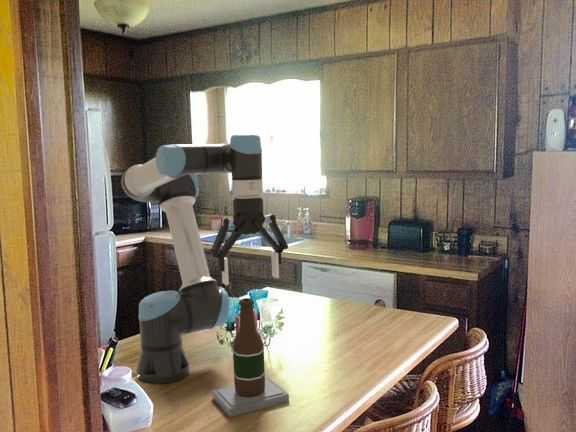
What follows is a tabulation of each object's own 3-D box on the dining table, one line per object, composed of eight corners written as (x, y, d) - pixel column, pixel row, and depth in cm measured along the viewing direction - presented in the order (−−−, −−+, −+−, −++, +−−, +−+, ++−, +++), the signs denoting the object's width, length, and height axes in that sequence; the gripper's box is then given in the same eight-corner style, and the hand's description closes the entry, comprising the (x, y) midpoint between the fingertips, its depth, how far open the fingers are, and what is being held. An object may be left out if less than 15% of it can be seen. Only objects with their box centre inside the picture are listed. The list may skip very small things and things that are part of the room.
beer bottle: (235, 385, 141) (231, 296, 138) (265, 384, 141) (261, 294, 139) (233, 398, 133) (229, 304, 130) (265, 397, 133) (261, 303, 131)
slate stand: (212, 398, 139) (212, 389, 139) (268, 384, 146) (268, 376, 146) (229, 417, 128) (229, 408, 128) (289, 401, 136) (288, 392, 135)
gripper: (203, 200, 125) (208, 290, 127) (299, 194, 135) (301, 277, 138) (194, 199, 132) (199, 283, 134) (286, 193, 142) (288, 271, 145)
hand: (251, 280), depth 136 cm, fingers open, 13 cm apart
